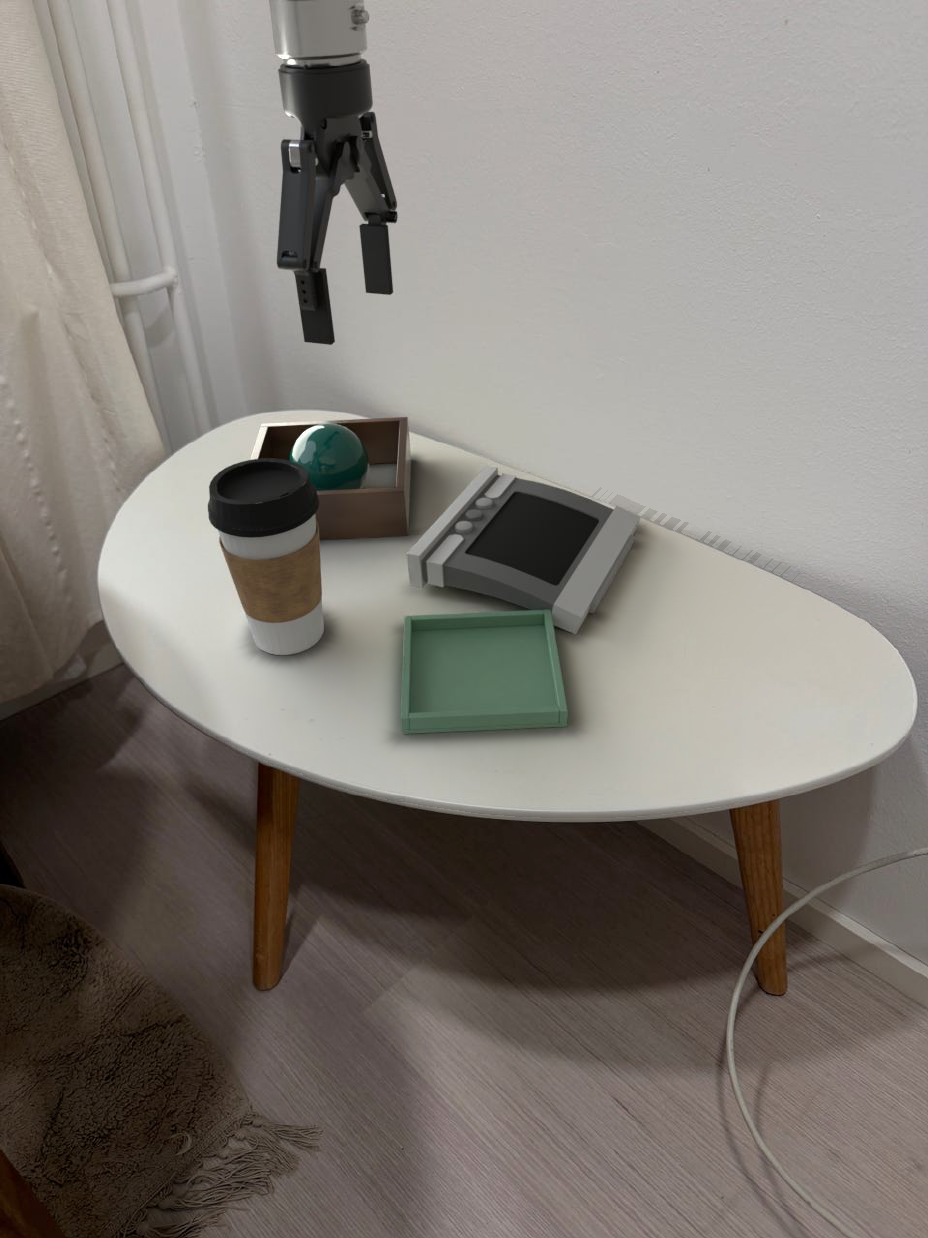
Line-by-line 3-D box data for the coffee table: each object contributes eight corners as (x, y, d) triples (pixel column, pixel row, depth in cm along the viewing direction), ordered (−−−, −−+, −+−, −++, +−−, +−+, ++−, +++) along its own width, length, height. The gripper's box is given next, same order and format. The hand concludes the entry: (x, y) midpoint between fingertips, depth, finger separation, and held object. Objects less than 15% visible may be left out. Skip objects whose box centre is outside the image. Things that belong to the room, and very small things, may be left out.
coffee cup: (273, 680, 73) (237, 519, 64) (220, 631, 78) (180, 476, 69) (358, 634, 77) (337, 477, 68) (303, 591, 82) (276, 439, 73)
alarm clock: (486, 465, 91) (646, 491, 86) (488, 506, 94) (643, 534, 88) (406, 553, 79) (587, 590, 73) (411, 597, 82) (586, 636, 76)
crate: (247, 543, 89) (237, 498, 86) (269, 465, 101) (261, 423, 98) (408, 535, 89) (404, 490, 86) (411, 458, 101) (407, 416, 98)
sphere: (281, 497, 96) (268, 426, 91) (345, 471, 100) (336, 402, 95) (322, 527, 91) (311, 455, 86) (388, 499, 95) (381, 428, 90)
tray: (402, 734, 68) (400, 718, 67) (405, 630, 77) (404, 615, 76) (567, 726, 68) (567, 711, 67) (550, 623, 77) (550, 609, 76)
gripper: (292, 84, 65) (329, 370, 78) (421, 39, 83) (433, 277, 96) (201, 82, 67) (252, 361, 80) (346, 39, 85) (368, 272, 99)
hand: (351, 316), depth 88 cm, fingers open, 13 cm apart
